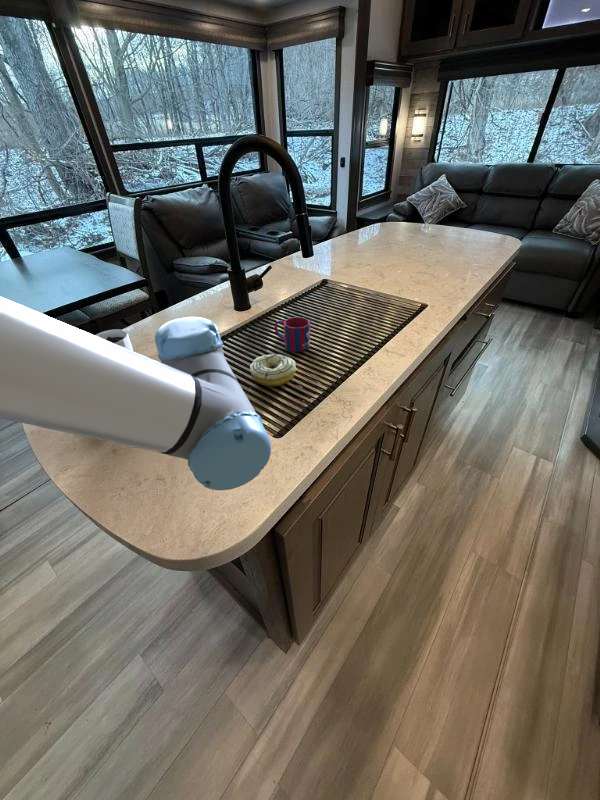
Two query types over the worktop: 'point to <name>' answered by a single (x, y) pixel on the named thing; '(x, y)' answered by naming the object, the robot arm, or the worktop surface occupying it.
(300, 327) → the mug
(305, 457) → the worktop surface
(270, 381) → the decorated donut
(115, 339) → the white coffee cup
